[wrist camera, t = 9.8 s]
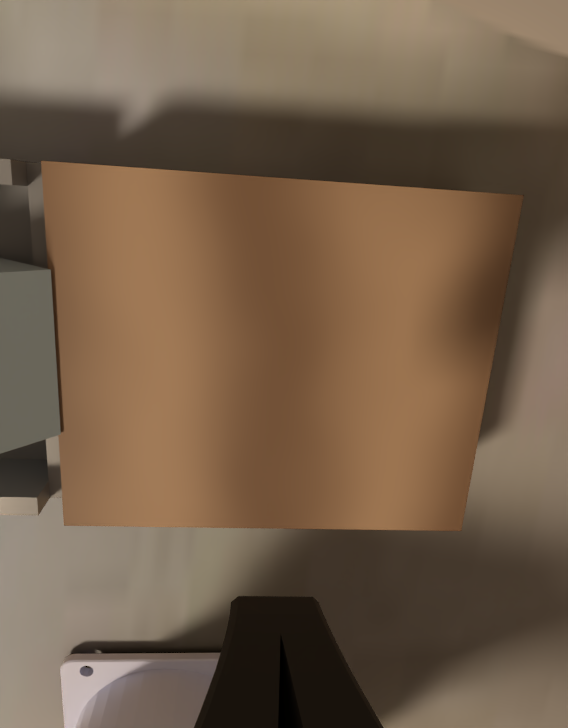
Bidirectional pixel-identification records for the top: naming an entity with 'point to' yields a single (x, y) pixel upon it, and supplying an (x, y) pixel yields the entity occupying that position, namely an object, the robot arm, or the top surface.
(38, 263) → the bin
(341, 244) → the walnut plate
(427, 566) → the top surface
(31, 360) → the tile slate
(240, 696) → the robot arm
